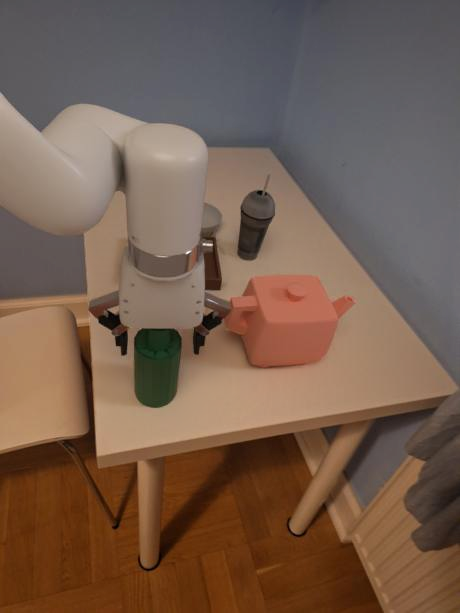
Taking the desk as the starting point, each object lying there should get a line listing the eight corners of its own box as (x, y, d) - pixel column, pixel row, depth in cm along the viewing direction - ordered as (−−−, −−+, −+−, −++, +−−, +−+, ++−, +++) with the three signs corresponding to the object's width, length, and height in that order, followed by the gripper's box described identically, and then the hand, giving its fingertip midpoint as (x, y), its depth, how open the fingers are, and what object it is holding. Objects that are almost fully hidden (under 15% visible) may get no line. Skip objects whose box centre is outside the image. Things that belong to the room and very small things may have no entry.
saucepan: (177, 240, 90) (178, 226, 88) (168, 197, 102) (169, 183, 100) (224, 240, 93) (226, 226, 90) (209, 198, 105) (211, 184, 102)
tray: (132, 287, 78) (132, 276, 76) (135, 242, 88) (135, 231, 86) (220, 290, 81) (222, 280, 79) (213, 246, 91) (215, 236, 89)
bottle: (133, 408, 60) (132, 340, 49) (135, 372, 65) (134, 303, 53) (176, 407, 62) (185, 341, 50) (175, 372, 66) (183, 304, 55)
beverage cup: (256, 243, 94) (276, 162, 80) (267, 263, 90) (291, 181, 76) (227, 245, 92) (242, 162, 78) (237, 266, 87) (256, 182, 73)
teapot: (321, 316, 81) (347, 261, 71) (346, 368, 72) (379, 314, 62) (213, 320, 75) (225, 262, 65) (226, 377, 67) (242, 320, 57)
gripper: (237, 231, 48) (220, 326, 60) (84, 223, 45) (98, 326, 57) (247, 273, 43) (225, 368, 55) (74, 268, 39) (91, 370, 51)
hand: (160, 347), depth 56 cm, fingers open, 9 cm apart
